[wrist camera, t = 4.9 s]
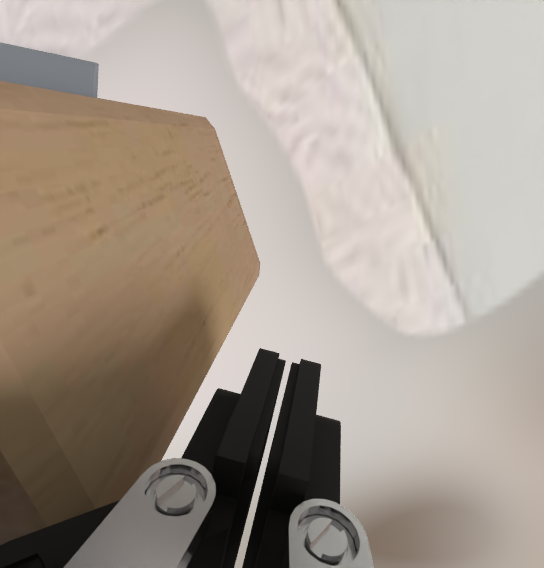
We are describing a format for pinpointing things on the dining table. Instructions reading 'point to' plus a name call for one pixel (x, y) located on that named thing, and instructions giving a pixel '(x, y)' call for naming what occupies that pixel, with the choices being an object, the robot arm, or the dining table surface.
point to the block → (106, 293)
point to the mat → (48, 71)
